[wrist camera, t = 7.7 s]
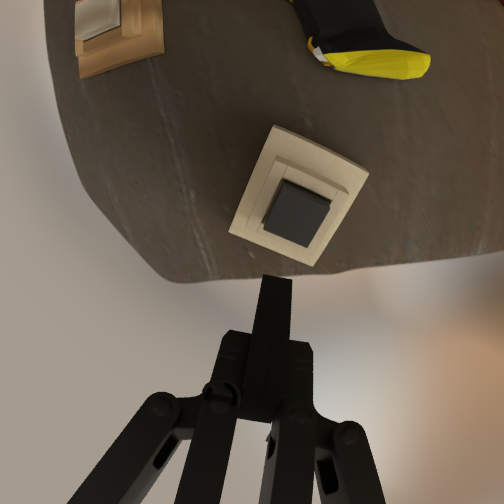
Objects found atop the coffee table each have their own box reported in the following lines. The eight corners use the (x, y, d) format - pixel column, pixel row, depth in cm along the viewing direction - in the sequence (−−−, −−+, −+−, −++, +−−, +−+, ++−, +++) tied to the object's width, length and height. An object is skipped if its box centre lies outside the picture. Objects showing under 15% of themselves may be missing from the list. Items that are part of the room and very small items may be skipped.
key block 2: (274, 123, 25) (270, 128, 21) (364, 167, 25) (375, 180, 22) (232, 223, 31) (223, 241, 28) (312, 257, 32) (313, 278, 29)
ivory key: (87, 7, 15) (75, 5, 13) (121, -9, 14) (109, -13, 13) (87, 40, 17) (74, 39, 16) (121, 25, 17) (109, 22, 15)
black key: (284, 179, 24) (283, 187, 22) (328, 199, 24) (330, 208, 23) (265, 219, 26) (262, 229, 25) (306, 237, 27) (307, 248, 25)
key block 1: (88, -4, 16) (67, -8, 13) (161, -34, 15) (144, -46, 12) (90, 77, 23) (68, 79, 20) (164, 53, 21) (146, 50, 18)
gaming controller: (363, -46, 12) (268, -33, 15) (375, -67, 7) (262, -57, 10) (415, 77, 19) (322, 92, 22) (441, 77, 15) (329, 92, 18)
